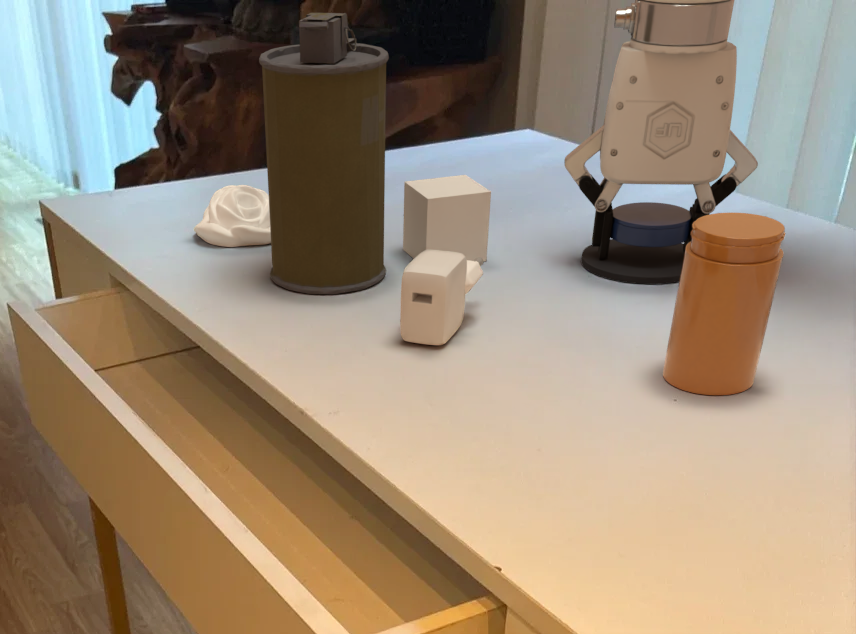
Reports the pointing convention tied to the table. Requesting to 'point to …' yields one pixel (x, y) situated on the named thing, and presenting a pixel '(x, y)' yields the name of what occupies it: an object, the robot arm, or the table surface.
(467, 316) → the table surface
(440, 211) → the beige cube
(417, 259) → the power adapter
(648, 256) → the coaster
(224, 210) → the rose
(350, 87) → the canister
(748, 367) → the jar
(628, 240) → the jar lid
